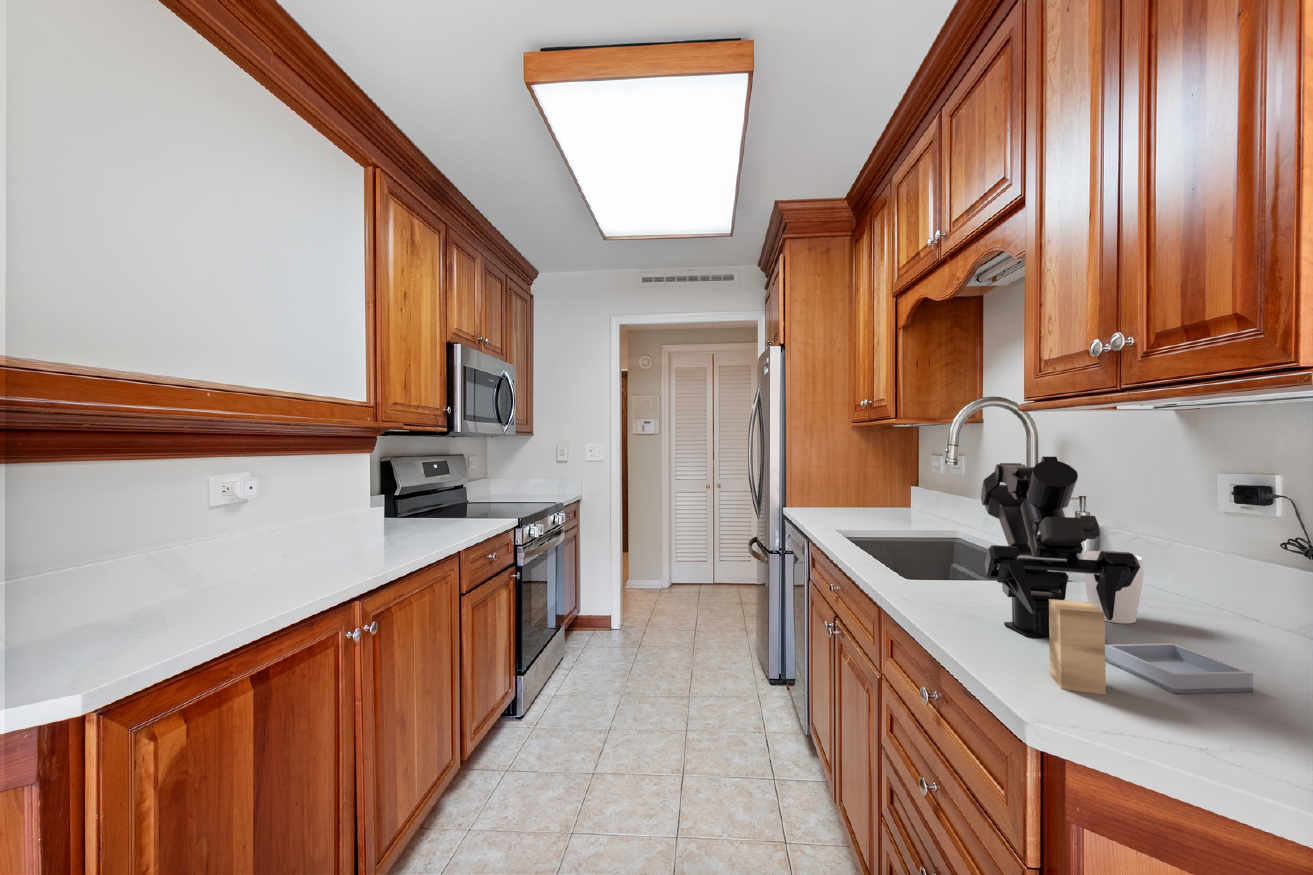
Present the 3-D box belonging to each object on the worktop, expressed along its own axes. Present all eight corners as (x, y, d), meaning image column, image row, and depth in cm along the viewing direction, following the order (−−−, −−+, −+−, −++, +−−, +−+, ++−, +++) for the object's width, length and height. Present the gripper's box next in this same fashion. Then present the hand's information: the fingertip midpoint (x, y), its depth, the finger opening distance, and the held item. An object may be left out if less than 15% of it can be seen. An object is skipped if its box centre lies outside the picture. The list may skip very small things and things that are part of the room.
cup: (1083, 608, 111) (1082, 548, 111) (1143, 616, 105) (1142, 554, 105) (1082, 619, 104) (1081, 556, 104) (1145, 629, 98) (1144, 562, 98)
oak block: (1050, 674, 80) (1048, 598, 80) (1091, 679, 78) (1090, 602, 78) (1061, 688, 75) (1059, 608, 76) (1105, 694, 74) (1104, 612, 74)
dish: (1104, 660, 85) (1104, 644, 85) (1173, 659, 85) (1173, 643, 85) (1173, 693, 74) (1173, 674, 74) (1253, 691, 74) (1252, 673, 74)
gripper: (987, 494, 88) (1004, 579, 77) (1133, 497, 81) (1173, 591, 70) (978, 536, 95) (993, 619, 84) (1112, 542, 88) (1145, 633, 77)
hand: (1071, 615), depth 79 cm, fingers open, 9 cm apart
